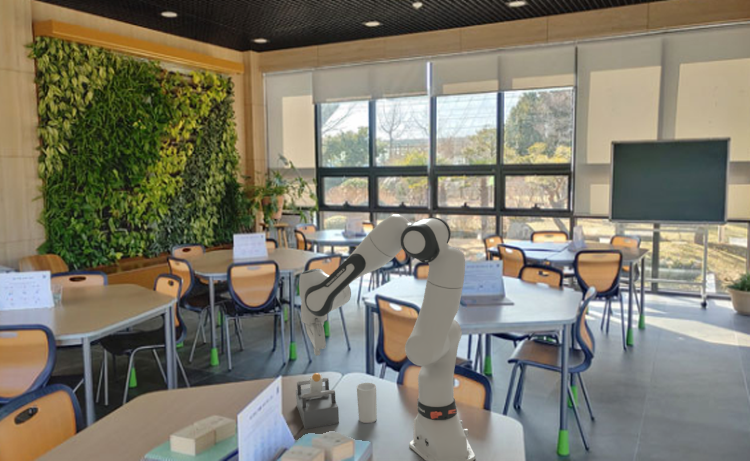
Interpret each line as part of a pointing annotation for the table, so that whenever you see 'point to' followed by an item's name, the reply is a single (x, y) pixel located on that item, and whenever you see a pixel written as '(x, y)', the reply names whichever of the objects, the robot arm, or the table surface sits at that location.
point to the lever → (316, 383)
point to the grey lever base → (317, 406)
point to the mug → (367, 402)
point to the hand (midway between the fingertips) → (317, 354)
